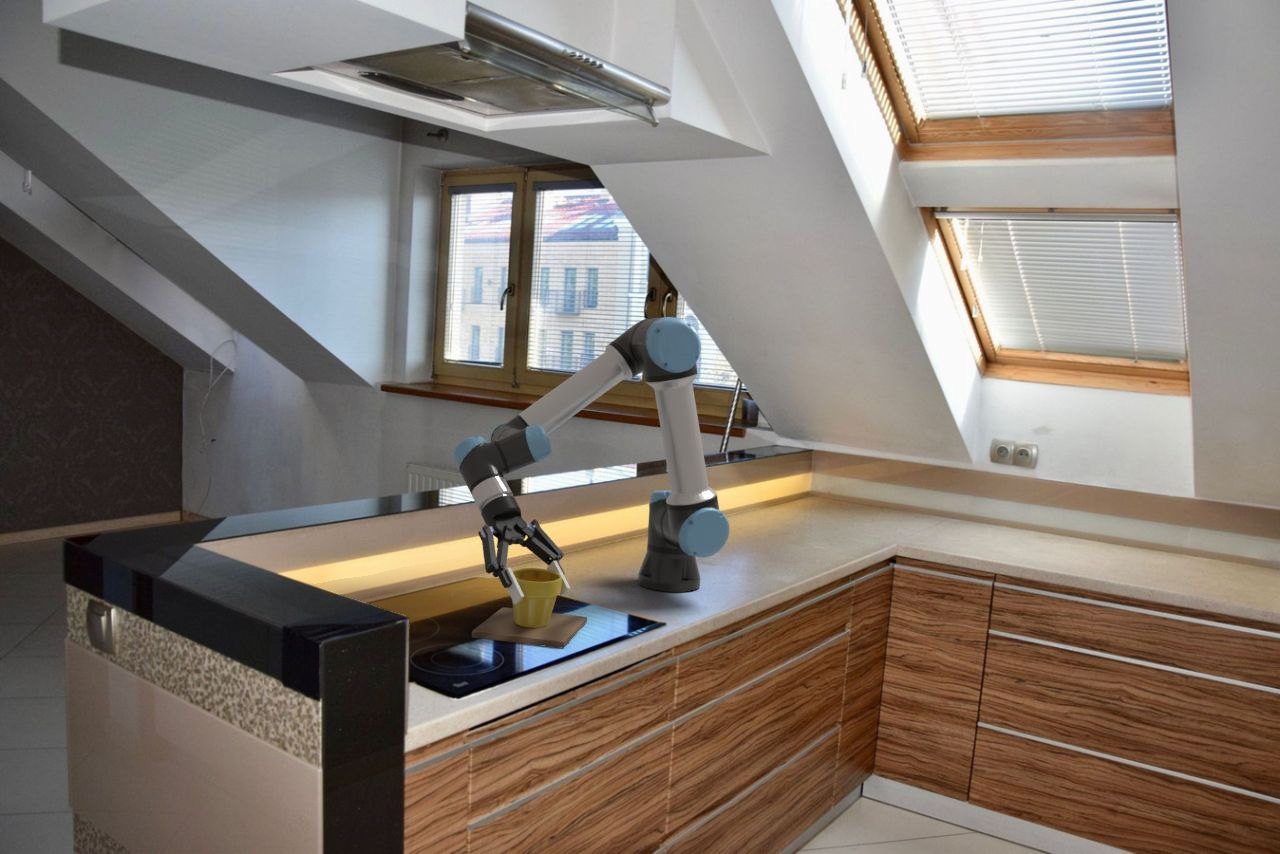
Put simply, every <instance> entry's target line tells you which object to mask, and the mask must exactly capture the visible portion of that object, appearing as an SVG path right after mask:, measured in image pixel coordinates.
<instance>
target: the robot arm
mask: <svg viewBox="0 0 1280 854" xmlns="http://www.w3.org/2000/svg"><path fill="white" fill-rule="evenodd" d="M701 352H702V343H701V338H700V335H699V333H698V331H697V330H696V329H695V327H694V326H693V325H692V324H690V323H689V322H688V321H686V320H684V319H681V318H678V317H673V316H666V317H665V316H664V317H651V318H645V319H642V320H640V321H638V322H636V323H635V324H633V325H632V326H630V327H629V328H628V329H626V330H625V331H624V332H623V333H622V334H620V335H619V336H618V337H616V338H615V339H614V340H613V341H611V342H610V343H608V344H607V345H605V351H604V352H603V353H602V354H600V355H599V356H598V357H597V358H595V359H594V360H592V361H591V362H589V363H588V364H587V365H585V366H584V367H582V368H581V369H580V370H578V371H577V372H576V373H574V374H572V376H569V377H568V378H567V379H566V380H564V381H563V382H562V383H560V384H559V385H558V386H556V387H554V389H551V391H549V392H547V394H545V395H543V396H542V397H541V398H540V399H538V400H536V401H535V402H534V403H532V404H531V405H530V406H528V407H526V408H525V409H524V410H523V411H521V412H520V413H519V414H517V415H516V416H514V417H512V418H511V419H510V420H508V421H507V422H503V423H501V424H498V425H496V426H495V427H494V428H492V430H491V432H490V433H489V437H488V442H487V441H486V440H485V438H484V437H482V436H479V435H478V436H471V437H467V438H465V439H463V440H462V441H460V442H459V443H458V444H457V445H456V446H455V447H454V450H453V459H454V460H455V463H456V465H457V468H458V470H459V473H460V474H461V477H462V479H463V480H464V482H465V484H466V486H467V489H468V490H469V493H470V494H471V496H472V498H473V501H474V502H475V505H476V507H477V509H478V510H479V511H480V515H481V517H482V519H483V522H484V523H485V524H484V525H483V526H482V527H481V529H480V530H479V531H478V533H477V534H478V536H479V539H480V541H481V544H482V552H483V559H484V568H485V572H486V573H487V574H489V575H490V574H491V573H492V576H493V577H494V578H498V580H500V583H501V585H502V586H503V589H506V591H507V592H508V595H509V596H510V599H511V601H512V600H513V602H514V604H518V603H519V602H520V601H521V600H522V598H523V597H524V594H523V592H522V590H521V588H520V586H519V584H518V582H517V580H516V578H515V576H514V574H513V572H512V571H513V569H512V567H507V562H508V555H509V546H512V545H520V546H521V547H523V548H527V550H529V551H530V552H531V553H533V555H535V556H537V557H538V558H539V559H540V560H541V561H542V562H544V563H545V564H546V565H547V567H546V570H551V571H554V572H557V573H559V574H560V575H561V576H562V584H561V592H560V594H559V595H560V597H561V596H564V595H565V594H566V593H567V592H568V591H569V590H570V589H571V586H570V585H569V583H568V581H567V579H566V576H565V570H564V569H563V567H562V565H561V563H560V560H562V558H563V557H565V553H564V552H563V551H562V550H561V549H560V547H559V546H558V545H557V544H556V543H555V542H554V540H552V538H551V537H550V536H549V535H548V534H547V532H545V531H544V529H543V528H542V527H541V525H540V523H539V521H538V520H537V519H535V518H534V519H532V521H529V522H527V521H525V520H524V519H523V517H522V510H521V507H520V506H519V504H518V501H517V500H516V498H515V497H514V493H513V492H512V490H511V488H510V486H509V484H508V481H506V478H505V477H504V476H506V475H508V474H510V473H512V472H515V471H517V470H520V469H523V468H526V467H527V466H530V465H533V464H536V463H539V462H540V461H542V460H544V459H546V458H548V457H550V456H551V454H552V450H553V449H552V448H553V447H552V444H551V441H550V439H549V436H548V435H549V434H550V433H553V431H554V430H556V429H557V428H558V427H560V426H562V425H563V424H564V423H566V422H568V420H570V419H571V418H572V417H574V416H575V415H576V414H578V413H579V412H580V411H582V410H583V409H584V408H586V407H587V406H589V405H590V404H592V403H593V402H594V401H596V400H597V399H599V398H600V397H602V395H604V394H605V393H607V392H608V391H610V390H611V389H613V388H614V387H615V386H616V385H618V384H619V383H620V382H622V381H623V380H629V381H630V380H632V379H633V378H634V377H637V376H638V375H640V374H642V373H643V372H644V378H645V383H646V384H647V385H648V386H650V387H651V388H653V390H654V396H655V402H656V408H657V412H658V413H657V414H658V420H659V426H660V432H661V439H662V444H663V450H664V456H665V463H666V468H667V474H668V481H669V487H670V490H654V491H653V492H652V493H651V494H650V501H649V504H648V507H649V511H648V527H647V542H646V543H647V544H646V545H647V546H646V553H645V556H644V558H643V560H642V564H641V565H640V569H639V571H638V574H637V584H638V585H640V586H641V587H643V588H646V589H649V590H655V591H660V592H667V593H668V592H669V593H671V592H672V593H683V592H685V593H686V591H687V592H692V591H691V590H693V591H696V590H695V589H697V590H699V589H700V588H701V574H700V571H699V566H698V562H697V558H699V559H702V558H704V559H705V558H709V557H712V556H714V555H717V553H719V552H720V551H721V550H722V549H723V548H724V547H725V544H727V541H728V540H729V535H730V529H731V528H730V522H729V520H728V518H727V516H726V515H725V513H723V511H721V510H720V506H719V500H718V493H717V491H716V490H714V489H713V488H712V487H710V486H709V481H708V474H707V468H706V462H705V457H704V456H705V454H704V448H703V443H702V442H703V441H702V435H701V430H700V423H699V417H698V410H697V405H696V404H697V403H696V398H695V392H694V384H693V383H694V381H695V379H696V378H697V377H698V375H699V373H698V367H697V361H698V359H700V356H701ZM494 537H495V538H496V539H497V542H496V546H495V539H494ZM526 537H527V538H526ZM496 548H497V550H496ZM699 587H700V588H699Z"/></svg>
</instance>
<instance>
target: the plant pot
mask: <svg viewBox="0 0 1280 854" xmlns="http://www.w3.org/2000/svg"><path fill="white" fill-rule="evenodd" d="M512 572H513V574H514V576H515V578H516V580H517V582H518V584H519V586H520V588H521V590H522V592H523V594H524V597H523V598H522V600H521V601H520V602H519V603H518V604H514V602H513V600H512V599H511V602H512V603H511V604H512V608H513V611H514V620H515V623H516V624H517V625H519V626H522V627H528V628H541V627H544V626H546V625H548V623H549V620H550V616H551V613H553V610H554V607H555V602H556V601H557V600H556V599H557V598H558V597H557V596H559V595H560V592H561V584H562V576H561V575H560V574H559V573H557V572H554V571H551V570H547V568H546V569H544V568H538V567H535V568H534V567H524V568H523V567H522V568H517V569H516V568H515V569H512Z"/></svg>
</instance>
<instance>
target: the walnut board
mask: <svg viewBox="0 0 1280 854" xmlns="http://www.w3.org/2000/svg"><path fill="white" fill-rule="evenodd" d="M586 622H587V623H588V616H582V615H574V614H566V613H559V612H557V613H556V612H552V613H551V616H550V620H549V623H548V625H546V626H544V627H541V628H528V627H522V626H519V625H517V624H516V623H515V620H514V611H513V607H505V606H504V607H501V608H500V609H499V610H497V611H496V612H495V613H493V614H492V615H491V616H490V617H488V618H487V619H486V620H484V621H483V622H482V623H480V624H479V625H478V626H477V627H476V628H474V629H473V630H472V631H471V638H475V639H483V640H491V641H499V642H507V643H508V642H509V643H514V644H525V645H532V646H533V645H534V646H540V645H545V646H544V647H548V646H553V647H552V648H557V647H562V648H561V649H565V648H566V647H567V646H568V645H569V643H570V642H571V641H572V640H573V639H574V638H575V637H576V635H577V634H578V633H579V632H580V631H581V630H582V629H583V628H584V627H585V625H586V624H587V623H586ZM585 623H586V624H585ZM581 628H582V629H581ZM580 629H581V630H580ZM579 630H580V631H579ZM578 631H579V632H578ZM577 632H578V633H577ZM576 633H577V634H576ZM575 634H576V635H575ZM574 636H575V637H574ZM573 637H574V638H573ZM572 638H573V639H572ZM571 639H572V640H571ZM570 640H571V641H570ZM569 641H570V642H569ZM567 644H568V645H567ZM566 645H567V646H566ZM565 646H566V647H565ZM564 647H565V648H564Z"/></svg>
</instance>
